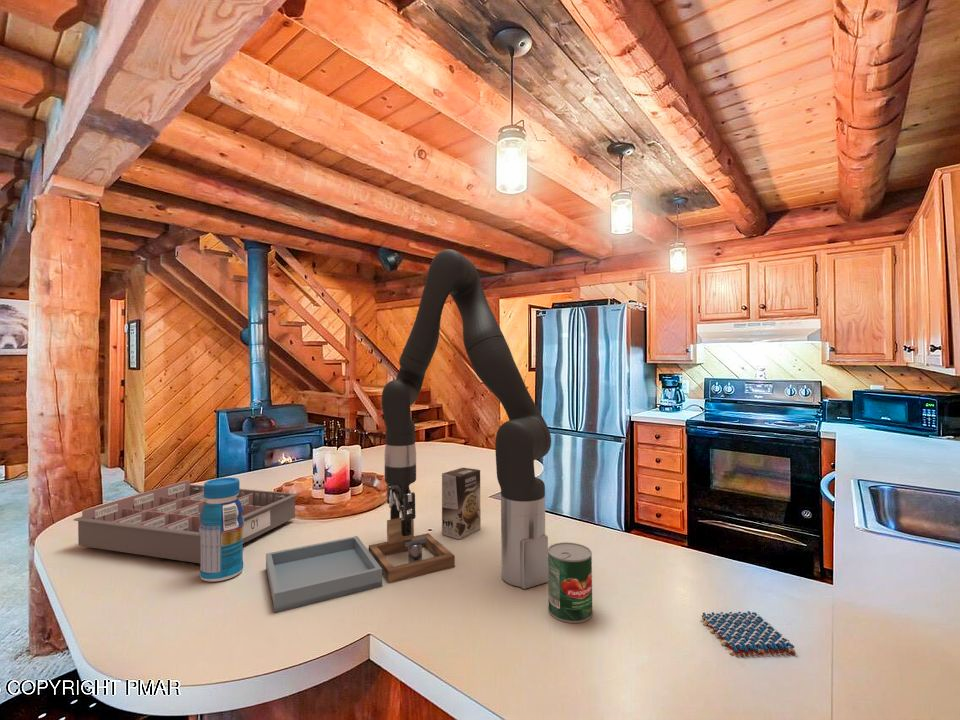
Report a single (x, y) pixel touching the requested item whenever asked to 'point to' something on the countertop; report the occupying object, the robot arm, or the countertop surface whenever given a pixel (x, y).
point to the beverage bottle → (221, 530)
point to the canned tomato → (570, 582)
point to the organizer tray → (174, 520)
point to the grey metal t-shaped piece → (414, 548)
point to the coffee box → (461, 502)
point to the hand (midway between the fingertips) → (400, 529)
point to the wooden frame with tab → (395, 545)
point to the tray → (320, 572)
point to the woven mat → (747, 634)
